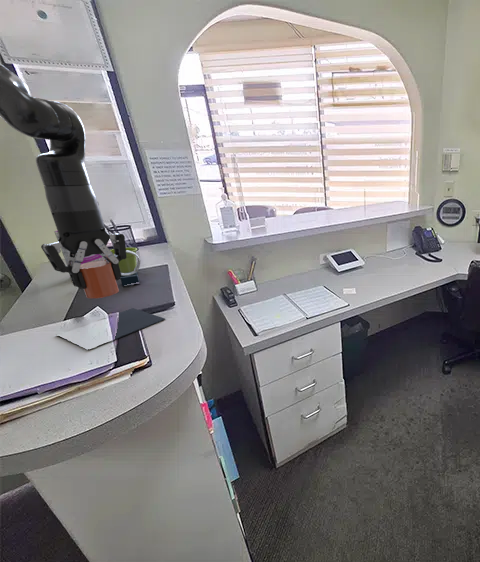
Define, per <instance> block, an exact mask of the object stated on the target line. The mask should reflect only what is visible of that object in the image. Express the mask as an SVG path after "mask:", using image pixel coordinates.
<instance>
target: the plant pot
mask: <svg viewBox="0 0 480 562" xmlns="http://www.w3.org/2000/svg"><path fill="white" fill-rule="evenodd" d="M109 250H110V251H111V252H112V253H113V255H114V254H115V252H114V248H112V249H109ZM127 250H129V251H132V252H134V253H136V254H137V251H138V248H137V247H126V251H127ZM126 256H127V257H126V259H123V260H121V261H119V268H120V271H121V273H128V272H133V271H134V269H135V267H136V265H137V257H136V256H135V255H133V254H131V253H127V252H126Z"/></svg>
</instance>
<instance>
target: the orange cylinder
mask: <svg viewBox="0 0 480 562" xmlns="http://www.w3.org/2000/svg"><path fill="white" fill-rule="evenodd" d="M79 272H82V275H83V278H84V281H85V284H86V288H84V289H83V292H84V294H85V297H86V298H87V299H100V298H101V299H103V298H108V297H110V296H113V295H116V294H118V293H119V292H120V289H119V285H118V282H117V280H116V279H115V275H114V272H113V269H112V265H111V262H109V261H96V262H89V263H85V264H81V266H80V270H79Z"/></svg>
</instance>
